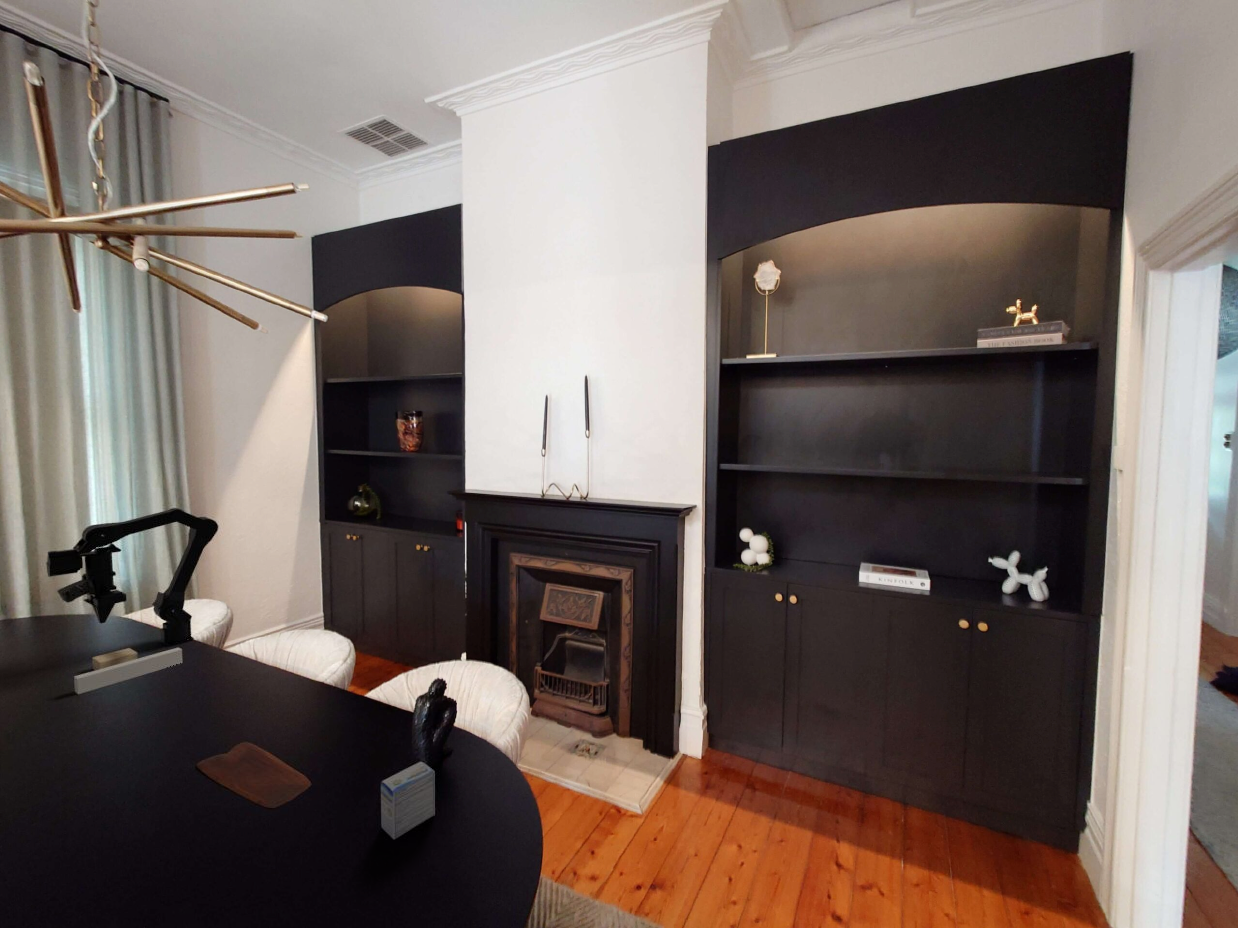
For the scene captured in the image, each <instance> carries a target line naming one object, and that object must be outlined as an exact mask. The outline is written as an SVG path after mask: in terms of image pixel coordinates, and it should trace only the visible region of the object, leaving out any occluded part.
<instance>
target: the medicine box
mask: <svg viewBox="0 0 1238 928" xmlns="http://www.w3.org/2000/svg"><path fill="white" fill-rule="evenodd" d="M435 777H436V773H435V770H434V769H432V768H431V767H430V766H429V765H427V764H426V763H424V762H422V761H419V762H416V763H415V764H413V765H411V766H409V767H407V768H404V769H403V770H401V771H399V772H397V773H395V774H394V775H391V776H390V777H387V778H386V779H383V780H382V781H380V804H381V805H380V811H381V812H380V813H381V814H380V815H381V817H380V819H381V828H382V830H383V831H385V833H387V835H388V836H389V837H390V838H391V839H392V840H396V839H398V838H399V837H401V836H402V835H405V833H407V832H409V831H410V830H412V829H414V828H415V827H417V826H419V825H420V824H422V823H424V822H425V821H427V820H429V819H430V818H432V817H434V816H436V813H435V812H436V807H435V806H436V805H435V803H436V802H435V799H436V796H435V795H436V787H435V786H436V783H435V781H436V780H435V779H436V778H435Z"/></svg>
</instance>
